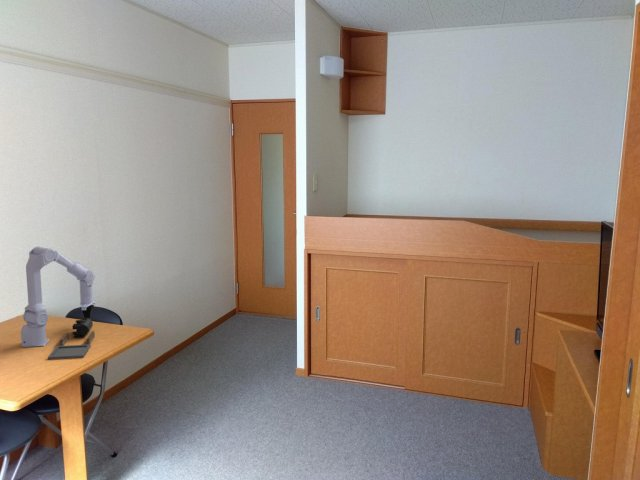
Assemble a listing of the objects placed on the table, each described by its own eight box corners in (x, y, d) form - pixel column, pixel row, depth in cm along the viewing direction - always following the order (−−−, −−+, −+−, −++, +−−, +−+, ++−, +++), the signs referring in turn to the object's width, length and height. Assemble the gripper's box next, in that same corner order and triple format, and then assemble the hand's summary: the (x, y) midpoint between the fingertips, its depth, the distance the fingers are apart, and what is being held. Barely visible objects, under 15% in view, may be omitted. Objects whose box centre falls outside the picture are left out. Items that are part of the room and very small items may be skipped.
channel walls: (60, 346, 224) (59, 340, 223) (66, 338, 233) (66, 332, 233) (89, 345, 226) (89, 338, 226) (94, 337, 236) (94, 331, 235)
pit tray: (47, 359, 209) (47, 357, 209) (56, 348, 221) (56, 346, 221) (83, 357, 212) (83, 355, 212) (90, 346, 224) (90, 344, 224)
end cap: (89, 337, 235) (88, 324, 234) (72, 338, 234) (72, 324, 233) (93, 330, 245) (92, 317, 244) (77, 331, 243) (76, 318, 242)
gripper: (91, 297, 240) (93, 324, 242) (98, 289, 254) (99, 315, 256) (76, 297, 239) (77, 325, 241) (83, 290, 253) (84, 315, 255)
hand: (87, 320), depth 248 cm, fingers closed
